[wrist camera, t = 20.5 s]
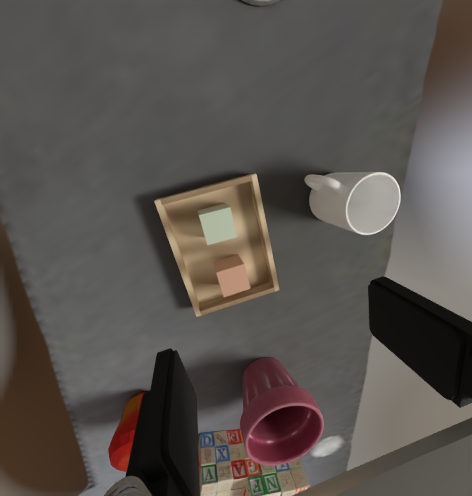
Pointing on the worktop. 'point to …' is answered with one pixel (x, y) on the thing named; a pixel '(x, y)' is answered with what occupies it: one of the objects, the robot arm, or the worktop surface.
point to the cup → (354, 200)
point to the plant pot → (277, 415)
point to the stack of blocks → (243, 469)
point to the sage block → (217, 223)
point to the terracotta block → (231, 275)
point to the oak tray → (202, 255)
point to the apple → (125, 434)
